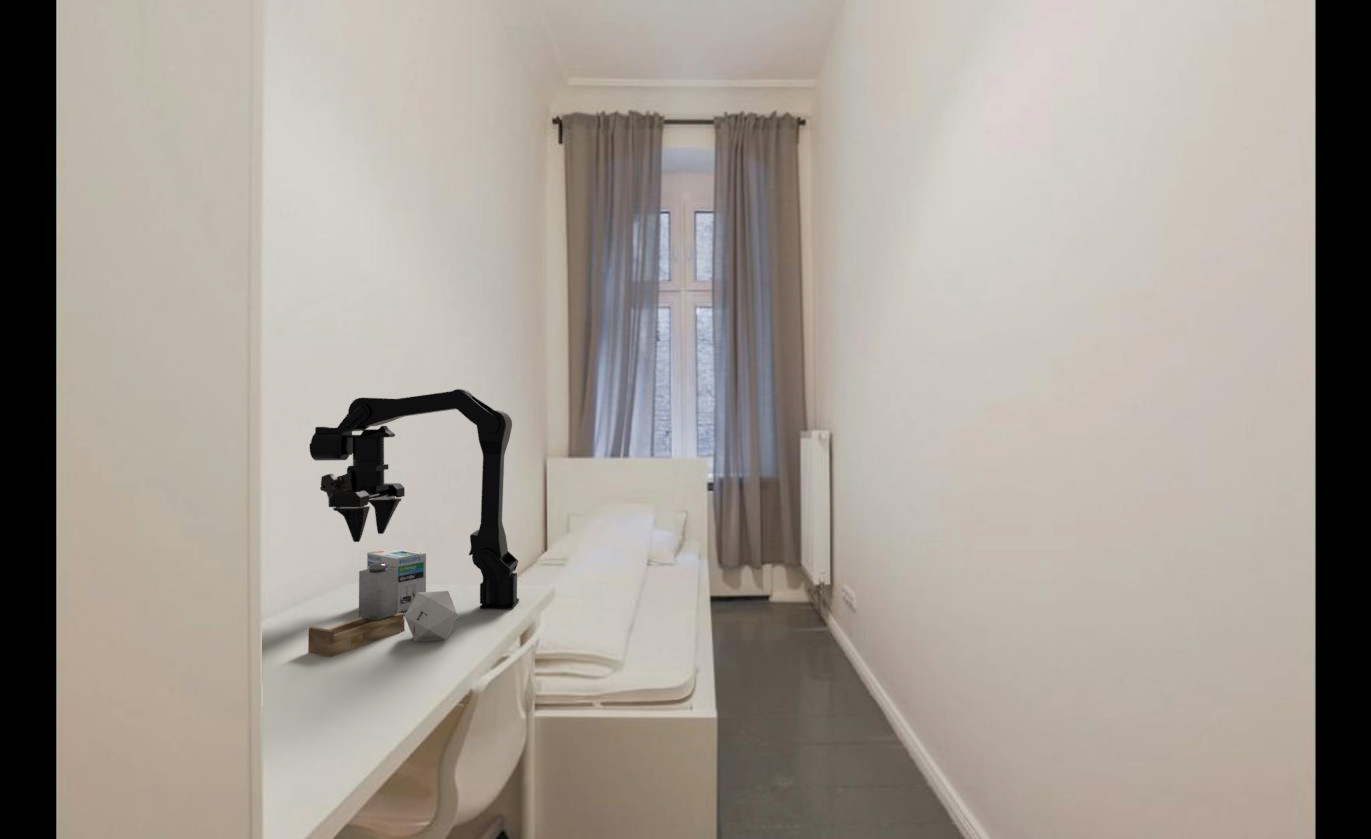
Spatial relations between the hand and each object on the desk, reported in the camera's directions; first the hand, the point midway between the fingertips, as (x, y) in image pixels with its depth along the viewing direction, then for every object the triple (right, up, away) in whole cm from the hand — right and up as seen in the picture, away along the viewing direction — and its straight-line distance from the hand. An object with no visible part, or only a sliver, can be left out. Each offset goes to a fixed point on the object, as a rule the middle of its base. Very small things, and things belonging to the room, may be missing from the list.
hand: (369, 537), depth 135 cm
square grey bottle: (+10, -12, -17) cm, 23 cm away
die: (+20, -14, -19) cm, 31 cm away
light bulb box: (+5, -14, +1) cm, 15 cm away
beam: (+8, -14, -21) cm, 26 cm away
